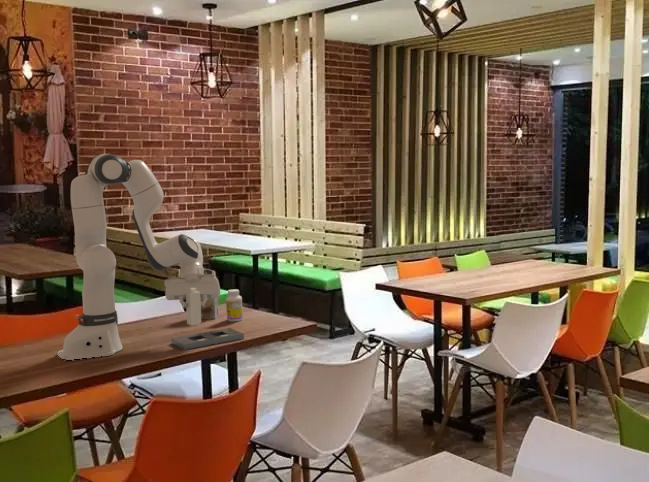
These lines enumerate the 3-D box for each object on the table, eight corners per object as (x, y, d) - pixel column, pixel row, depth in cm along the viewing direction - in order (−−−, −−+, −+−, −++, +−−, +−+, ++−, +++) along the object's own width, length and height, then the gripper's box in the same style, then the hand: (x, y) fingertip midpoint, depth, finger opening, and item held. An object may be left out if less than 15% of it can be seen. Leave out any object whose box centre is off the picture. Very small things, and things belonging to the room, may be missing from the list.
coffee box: (194, 319, 303) (192, 282, 302) (198, 316, 310) (196, 280, 308) (215, 319, 303) (213, 282, 301) (219, 315, 309) (217, 279, 307)
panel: (184, 350, 254) (183, 343, 254) (171, 343, 264) (171, 337, 264) (243, 338, 267) (243, 332, 267) (230, 332, 277) (229, 327, 277)
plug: (191, 325, 259) (189, 289, 258) (187, 323, 262) (185, 288, 261) (201, 324, 261) (200, 288, 260) (197, 322, 265) (195, 286, 263)
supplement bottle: (225, 319, 301) (224, 289, 300) (241, 317, 303) (239, 288, 302) (228, 322, 295) (226, 292, 294) (244, 320, 297) (242, 290, 295)
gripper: (164, 273, 265) (164, 303, 256) (219, 270, 269) (221, 300, 260) (164, 283, 270) (165, 313, 261) (218, 280, 274) (220, 310, 265)
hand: (193, 307), depth 261 cm, fingers closed on plug, 5 cm apart
